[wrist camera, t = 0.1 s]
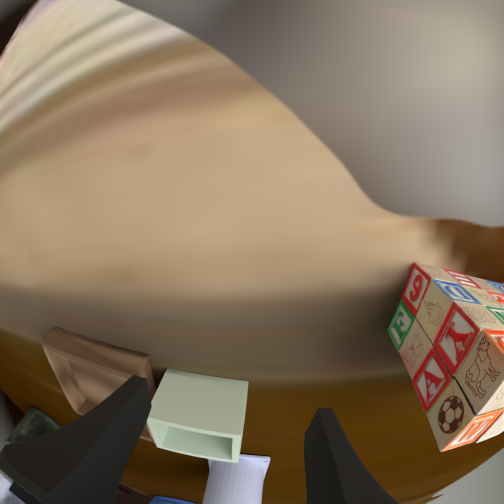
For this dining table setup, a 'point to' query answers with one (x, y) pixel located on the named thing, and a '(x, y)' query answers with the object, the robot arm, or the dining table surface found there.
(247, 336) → the dining table surface
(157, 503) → the bowl
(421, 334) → the stack of blocks
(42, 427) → the mug
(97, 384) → the big crate
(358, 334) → the dining table surface
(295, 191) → the dining table surface
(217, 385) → the box
